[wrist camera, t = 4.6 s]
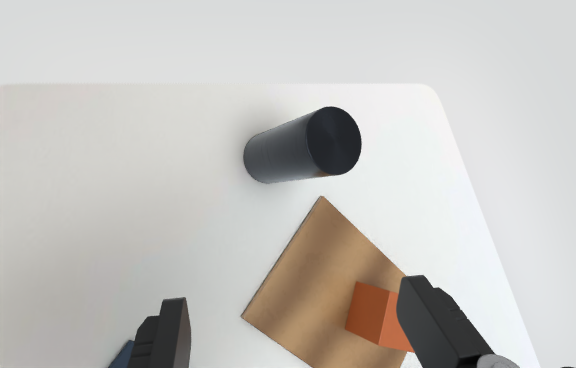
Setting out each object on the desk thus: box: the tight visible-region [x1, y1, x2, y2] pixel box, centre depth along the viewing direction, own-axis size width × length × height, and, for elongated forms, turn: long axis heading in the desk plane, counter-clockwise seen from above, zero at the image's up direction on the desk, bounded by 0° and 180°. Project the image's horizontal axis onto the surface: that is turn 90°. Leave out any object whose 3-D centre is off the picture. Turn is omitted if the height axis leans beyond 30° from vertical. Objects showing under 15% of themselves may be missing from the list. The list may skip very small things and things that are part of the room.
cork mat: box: [241, 196, 407, 368], centre depth 38 cm, size 20×14×1 cm
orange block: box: [345, 281, 415, 353], centre depth 37 cm, size 5×5×5 cm
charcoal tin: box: [244, 107, 362, 183], centre depth 30 cm, size 5×5×11 cm
